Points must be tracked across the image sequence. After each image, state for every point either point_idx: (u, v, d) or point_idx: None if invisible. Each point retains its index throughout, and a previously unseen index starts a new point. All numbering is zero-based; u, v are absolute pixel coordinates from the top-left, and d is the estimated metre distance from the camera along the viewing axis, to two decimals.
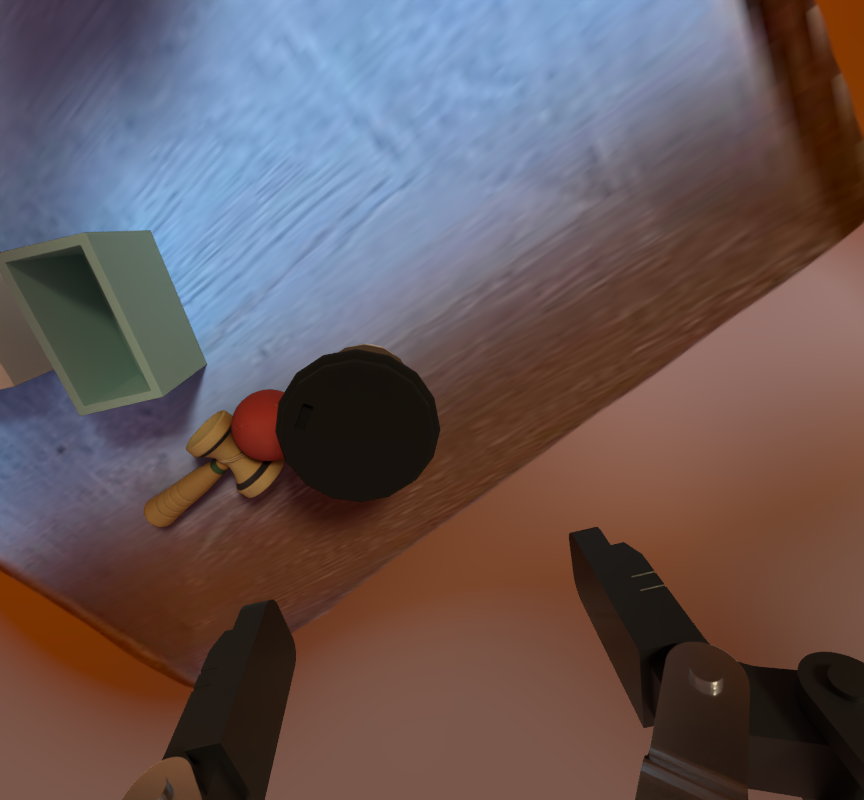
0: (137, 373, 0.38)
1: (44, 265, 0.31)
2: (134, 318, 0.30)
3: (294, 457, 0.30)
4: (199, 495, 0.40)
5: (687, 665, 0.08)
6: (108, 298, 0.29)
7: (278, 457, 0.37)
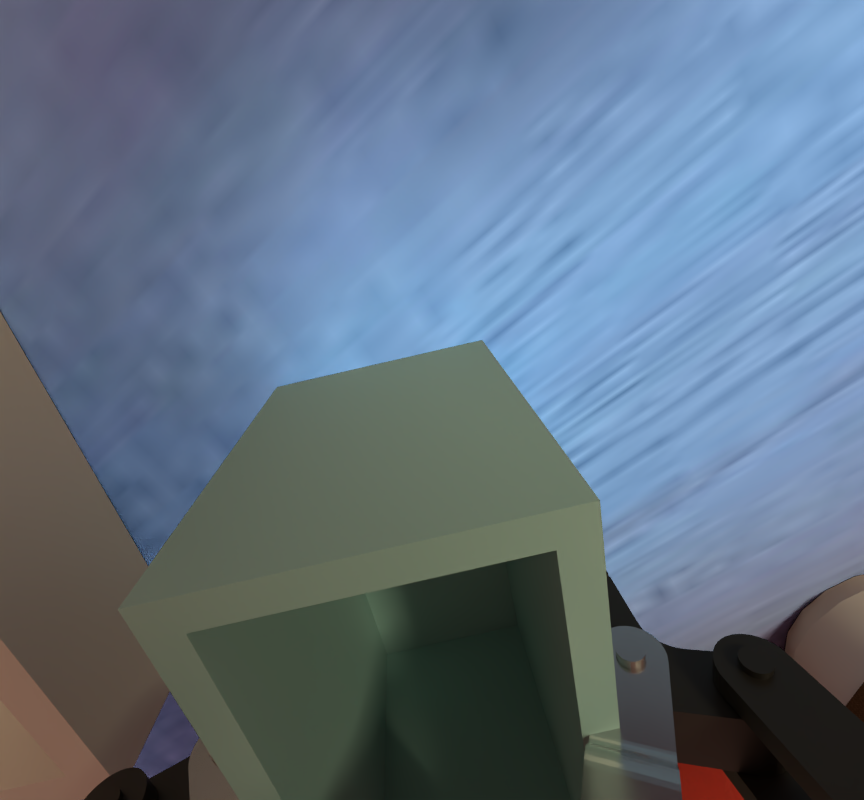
0: (386, 660, 0.16)
1: None
2: None
3: None
4: None
5: (614, 647, 0.08)
6: (588, 720, 0.07)
7: None
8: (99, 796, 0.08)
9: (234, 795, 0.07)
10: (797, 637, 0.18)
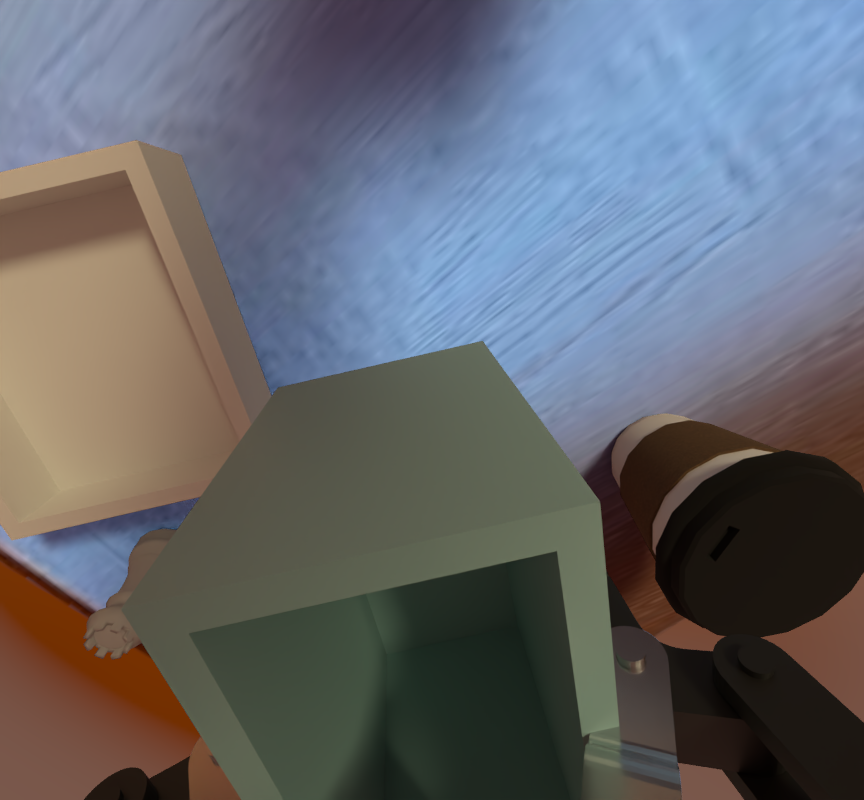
0: (386, 660, 0.16)
1: None
2: None
3: (693, 589, 0.22)
4: None
5: (614, 647, 0.08)
6: (588, 719, 0.07)
7: None
8: (100, 796, 0.08)
9: (234, 795, 0.07)
10: (613, 451, 0.33)
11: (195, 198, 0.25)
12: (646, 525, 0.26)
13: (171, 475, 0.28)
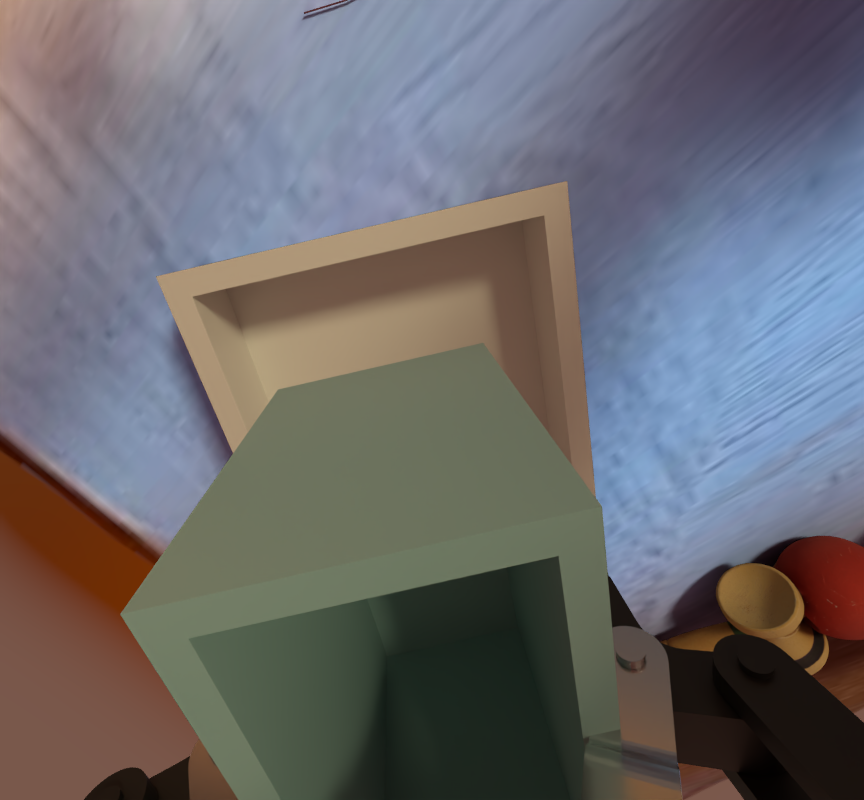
0: (386, 662, 0.16)
1: None
2: None
3: None
4: None
5: (614, 647, 0.08)
6: (589, 724, 0.07)
7: None
8: (100, 796, 0.08)
9: (234, 795, 0.07)
10: None
11: None
12: None
13: None
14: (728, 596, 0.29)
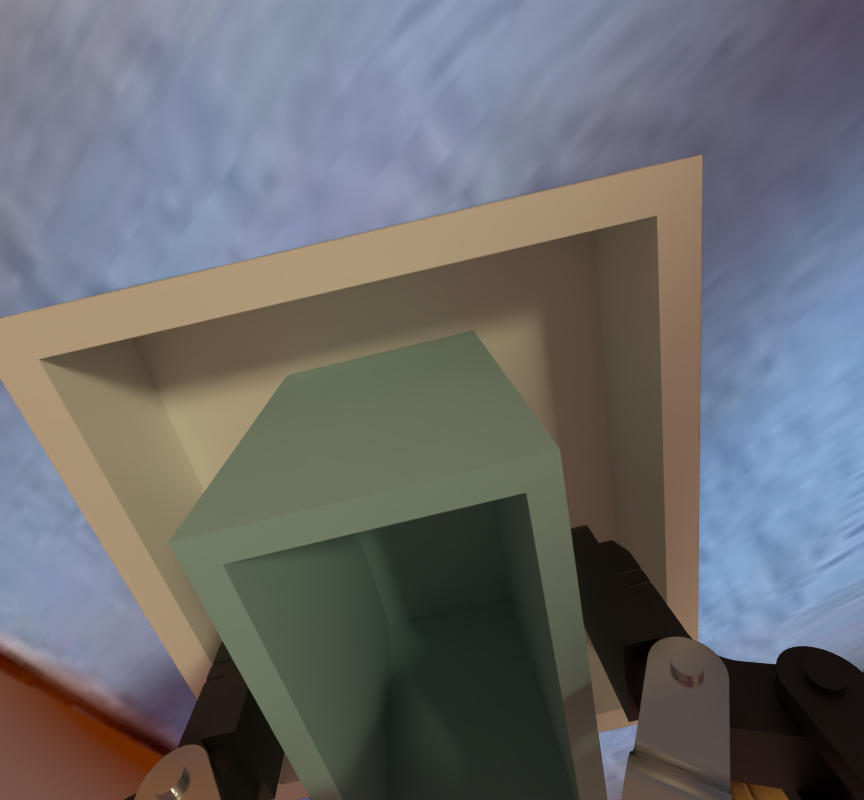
0: (389, 630, 0.17)
1: None
2: None
3: None
4: None
5: (669, 659, 0.08)
6: (559, 645, 0.08)
7: None
8: None
9: None
10: None
11: None
12: None
13: None
14: None
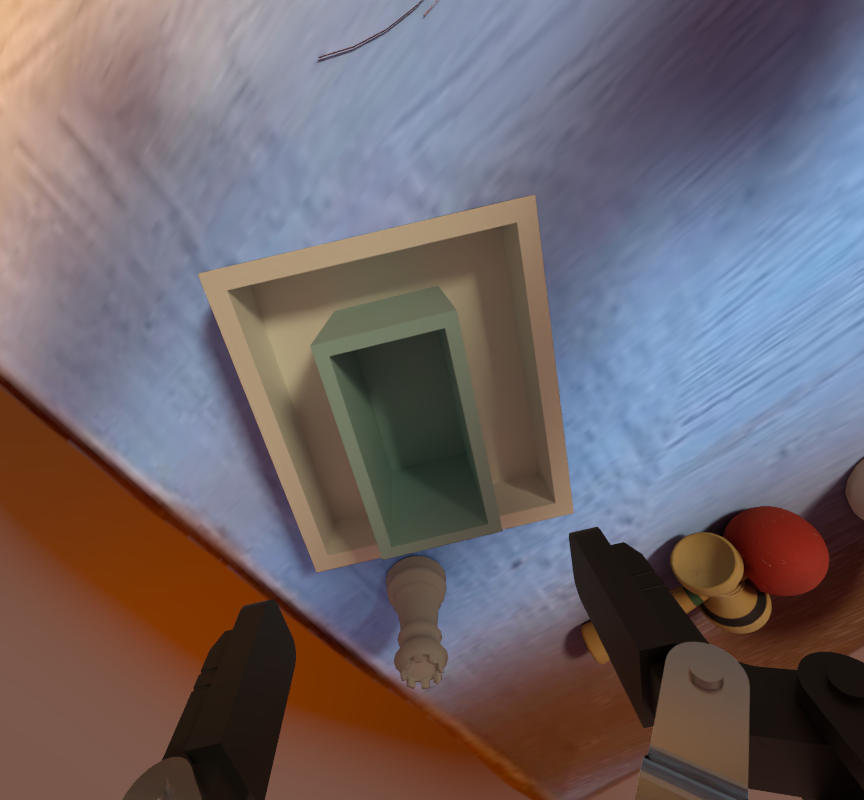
0: (391, 471, 0.28)
1: None
2: None
3: None
4: None
5: (687, 665, 0.08)
6: (464, 402, 0.19)
7: None
8: None
9: None
10: (853, 478, 0.33)
11: None
12: None
13: None
14: (680, 562, 0.33)
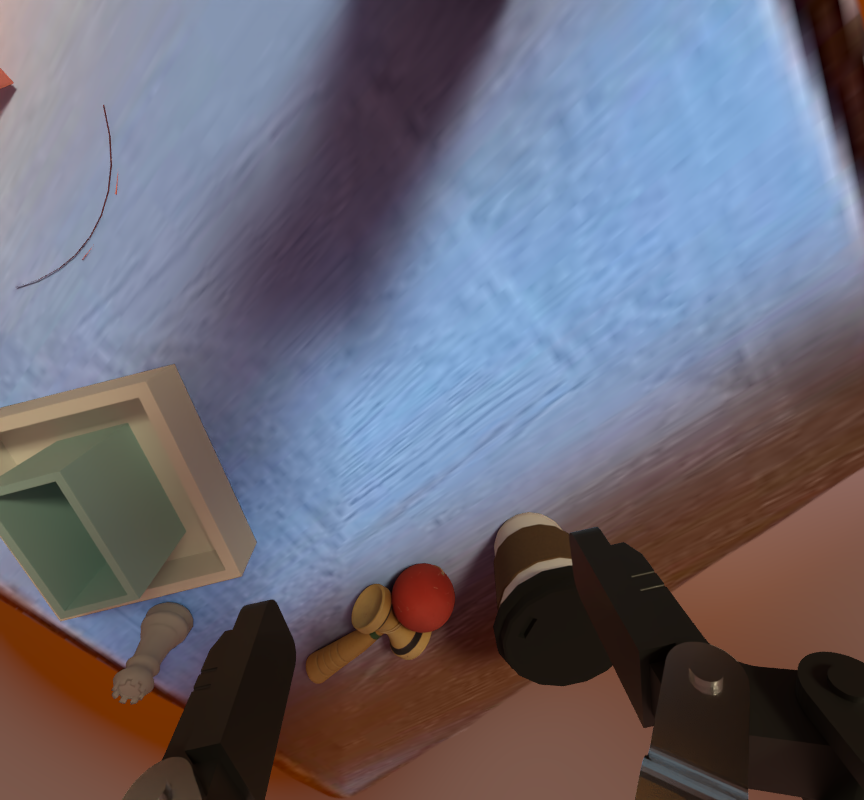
0: None
1: None
2: (109, 532, 0.32)
3: (514, 656, 0.34)
4: None
5: (687, 665, 0.08)
6: (83, 522, 0.31)
7: None
8: None
9: None
10: None
11: (184, 390, 0.37)
12: None
13: (170, 571, 0.40)
14: (359, 606, 0.44)
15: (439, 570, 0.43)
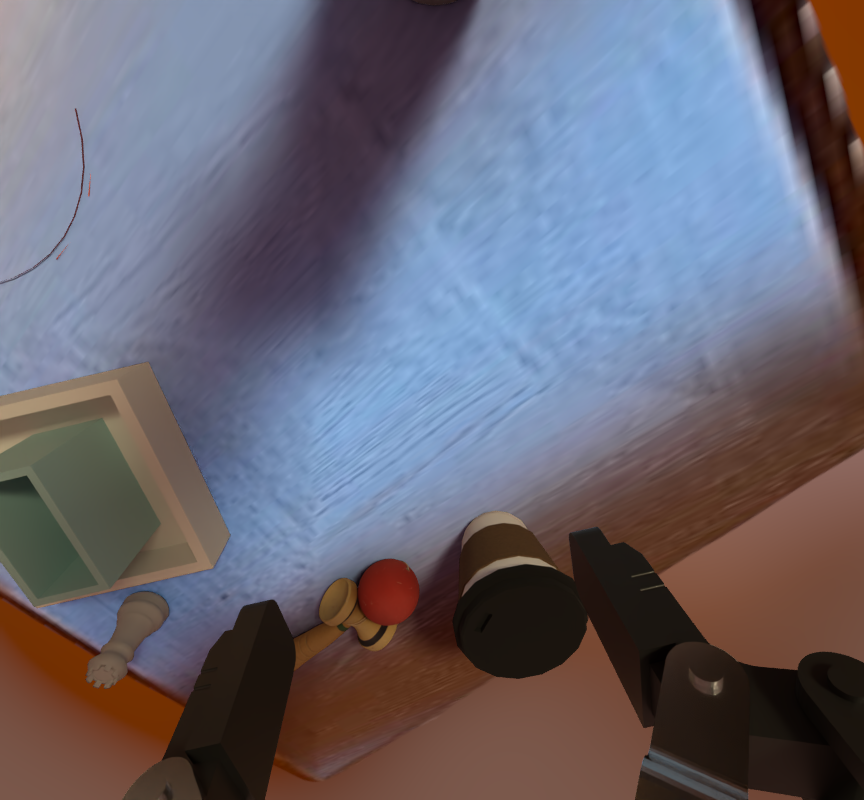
0: None
1: None
2: (81, 524, 0.33)
3: (471, 649, 0.35)
4: (325, 647, 0.47)
5: (687, 665, 0.08)
6: (54, 515, 0.32)
7: (399, 622, 0.43)
8: None
9: None
10: (463, 536, 0.45)
11: (158, 387, 0.38)
12: None
13: (145, 562, 0.41)
14: (327, 599, 0.45)
15: (404, 566, 0.44)
